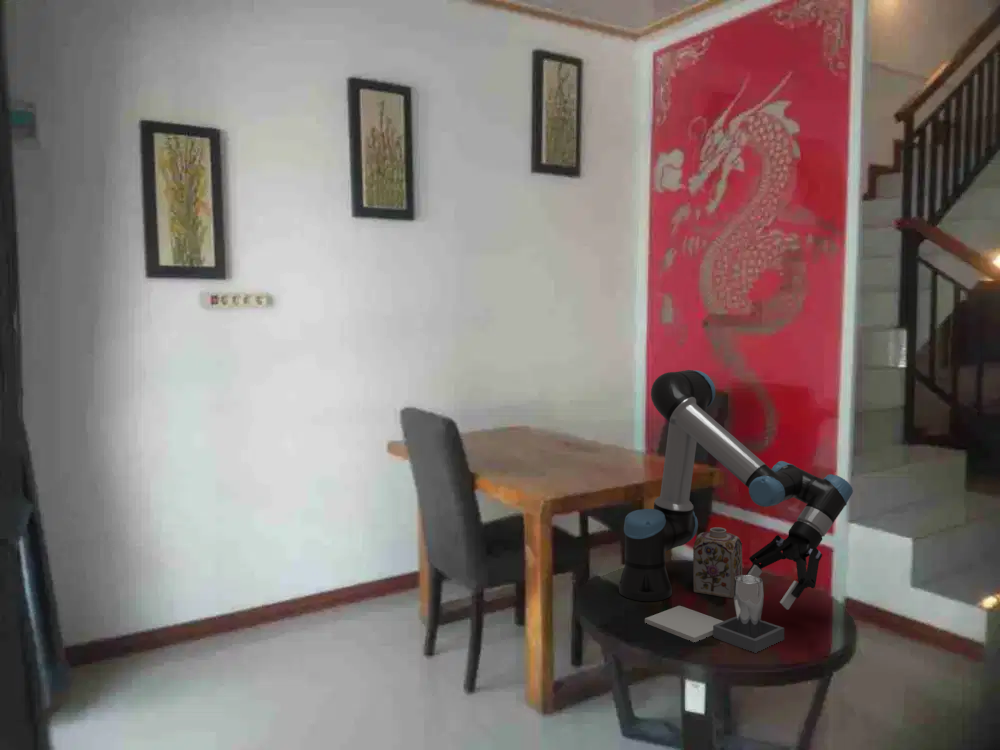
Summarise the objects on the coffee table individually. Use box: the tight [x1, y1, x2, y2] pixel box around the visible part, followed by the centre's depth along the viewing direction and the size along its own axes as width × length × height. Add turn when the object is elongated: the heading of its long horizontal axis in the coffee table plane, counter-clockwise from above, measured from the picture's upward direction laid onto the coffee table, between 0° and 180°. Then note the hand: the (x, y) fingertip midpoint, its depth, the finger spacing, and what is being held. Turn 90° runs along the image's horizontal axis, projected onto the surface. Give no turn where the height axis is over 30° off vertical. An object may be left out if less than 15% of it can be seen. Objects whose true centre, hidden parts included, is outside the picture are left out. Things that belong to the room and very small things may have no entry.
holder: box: [712, 615, 785, 654], centre depth 184 cm, size 12×12×3 cm
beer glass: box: [733, 574, 764, 639], centre depth 183 cm, size 7×7×15 cm
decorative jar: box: [692, 527, 743, 599], centre depth 218 cm, size 12×12×18 cm
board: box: [644, 605, 724, 643], centre depth 193 cm, size 16×14×1 cm
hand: (763, 597), depth 183 cm, fingers open, 13 cm apart
